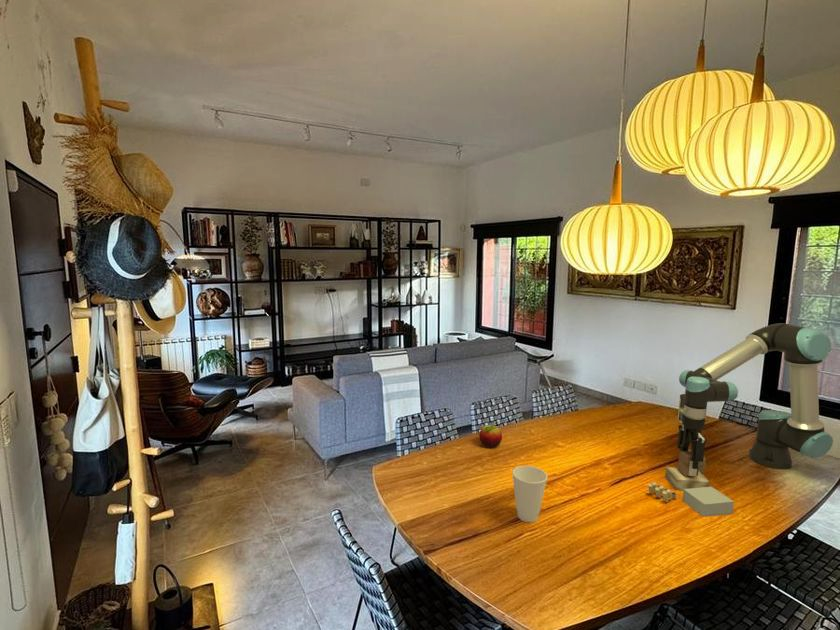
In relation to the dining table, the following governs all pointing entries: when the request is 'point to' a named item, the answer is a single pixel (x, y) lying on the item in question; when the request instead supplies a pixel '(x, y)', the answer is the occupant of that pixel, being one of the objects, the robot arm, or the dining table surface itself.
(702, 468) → the coral
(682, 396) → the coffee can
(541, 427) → the dining table surface
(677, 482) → the pale oak block
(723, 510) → the grey painted block
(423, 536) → the dining table surface
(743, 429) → the dining table surface
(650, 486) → the ammunition
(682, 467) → the walnut block
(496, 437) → the fruit
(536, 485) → the cup
